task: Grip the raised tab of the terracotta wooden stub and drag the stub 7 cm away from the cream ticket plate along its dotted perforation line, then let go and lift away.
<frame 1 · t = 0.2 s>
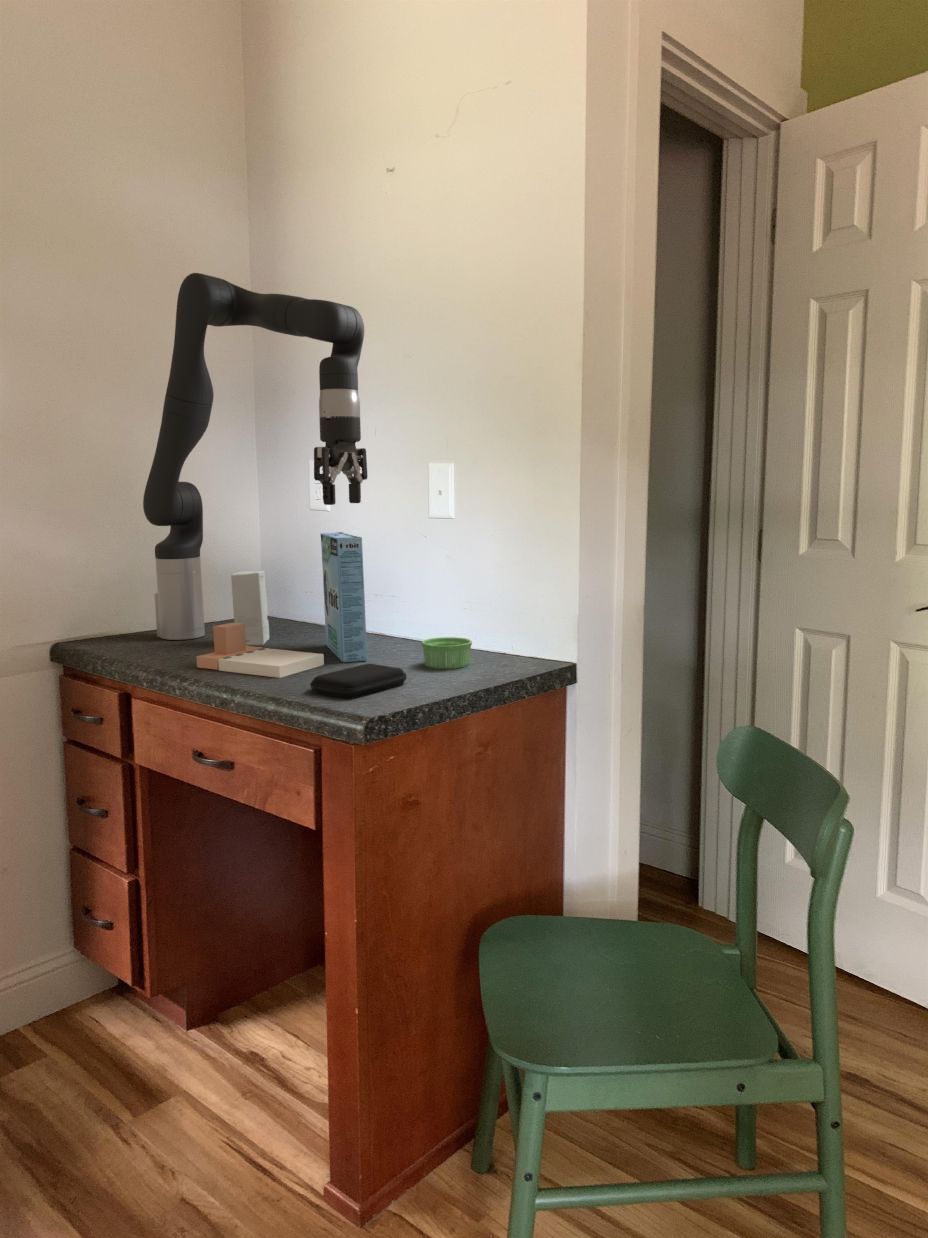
hand: (342, 503, 170), 29 cm above the table, tool pointing down, fingers open, 8 cm apart
ticket plate: (272, 667, 162), on the table
skincare box: (252, 643, 188), on the table
ramekin: (447, 666, 163), on the table
stub: (230, 643, 166), point 4 cm above the table, slide at 0.0 cm
gum box: (345, 654, 175), on the table
carrying case or bag: (357, 690, 146), on the table
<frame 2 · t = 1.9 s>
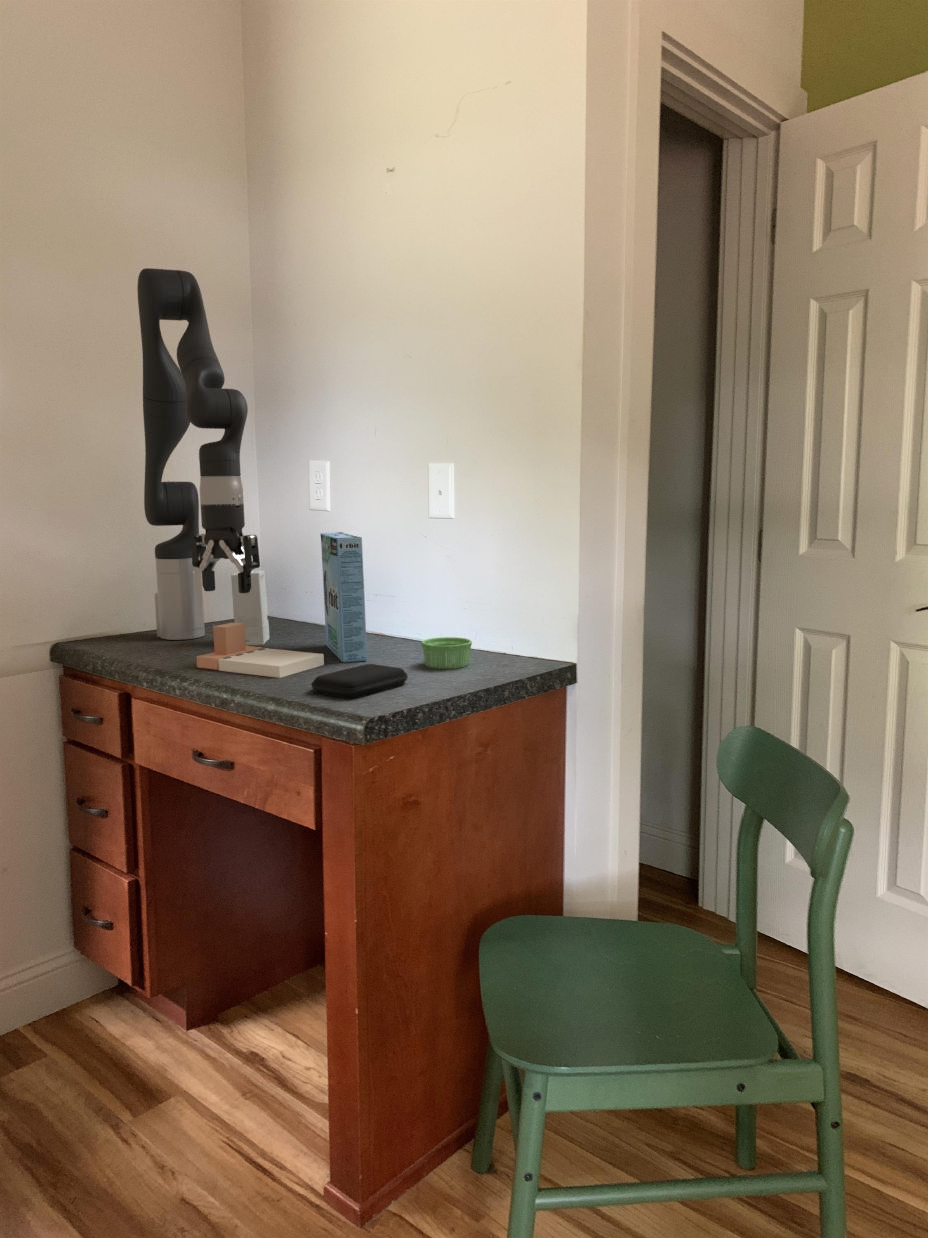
hand: (227, 591, 165), 13 cm above the table, tool pointing down, fingers open, 8 cm apart
nothing on the table moved.
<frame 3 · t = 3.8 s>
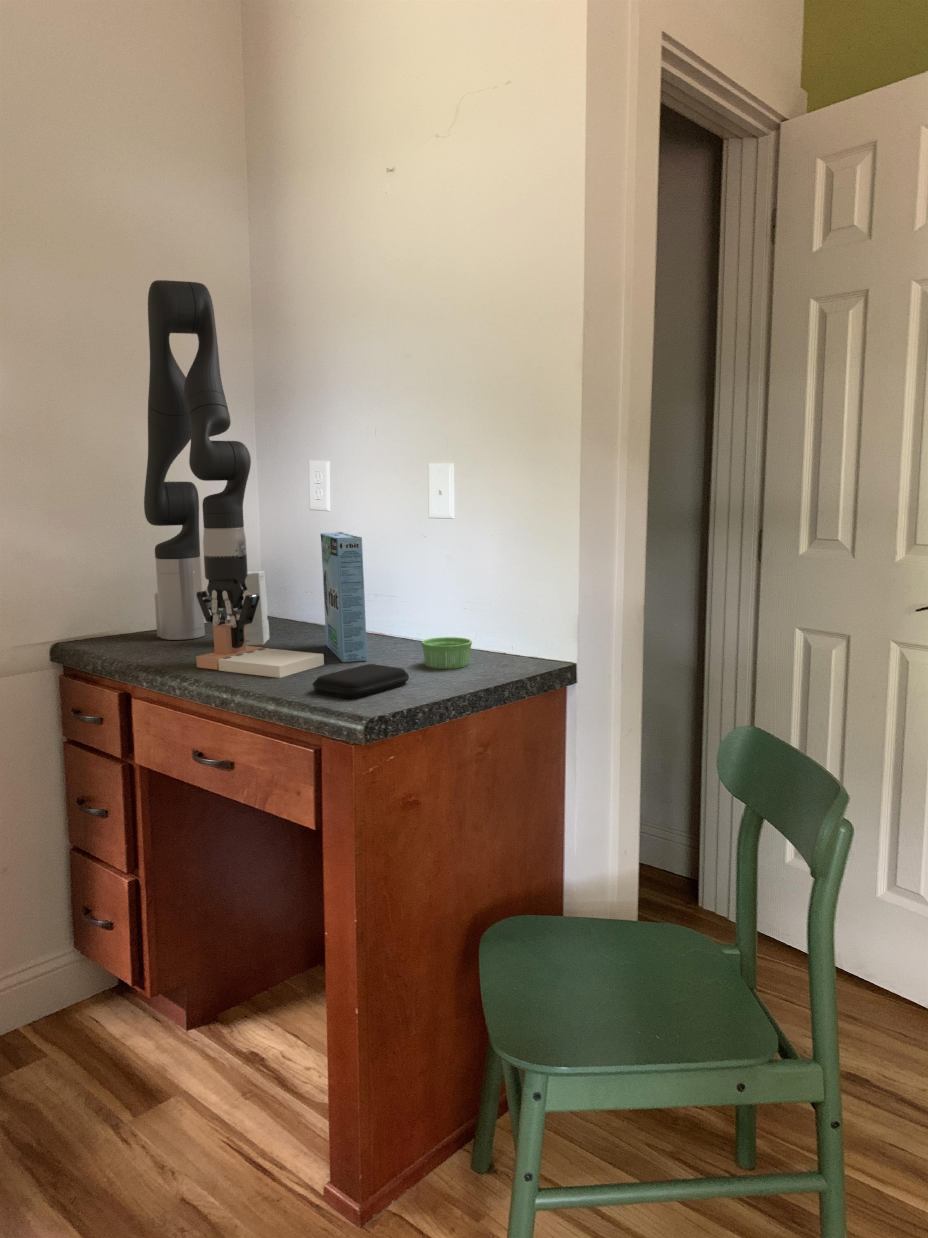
hand: (230, 646, 166), 3 cm above the table, tool pointing down, fingers closed on stub, 3 cm apart
stub: (230, 643, 166), point 4 cm above the table, slide at 0.0 cm, touching gripper
everything else where it was.
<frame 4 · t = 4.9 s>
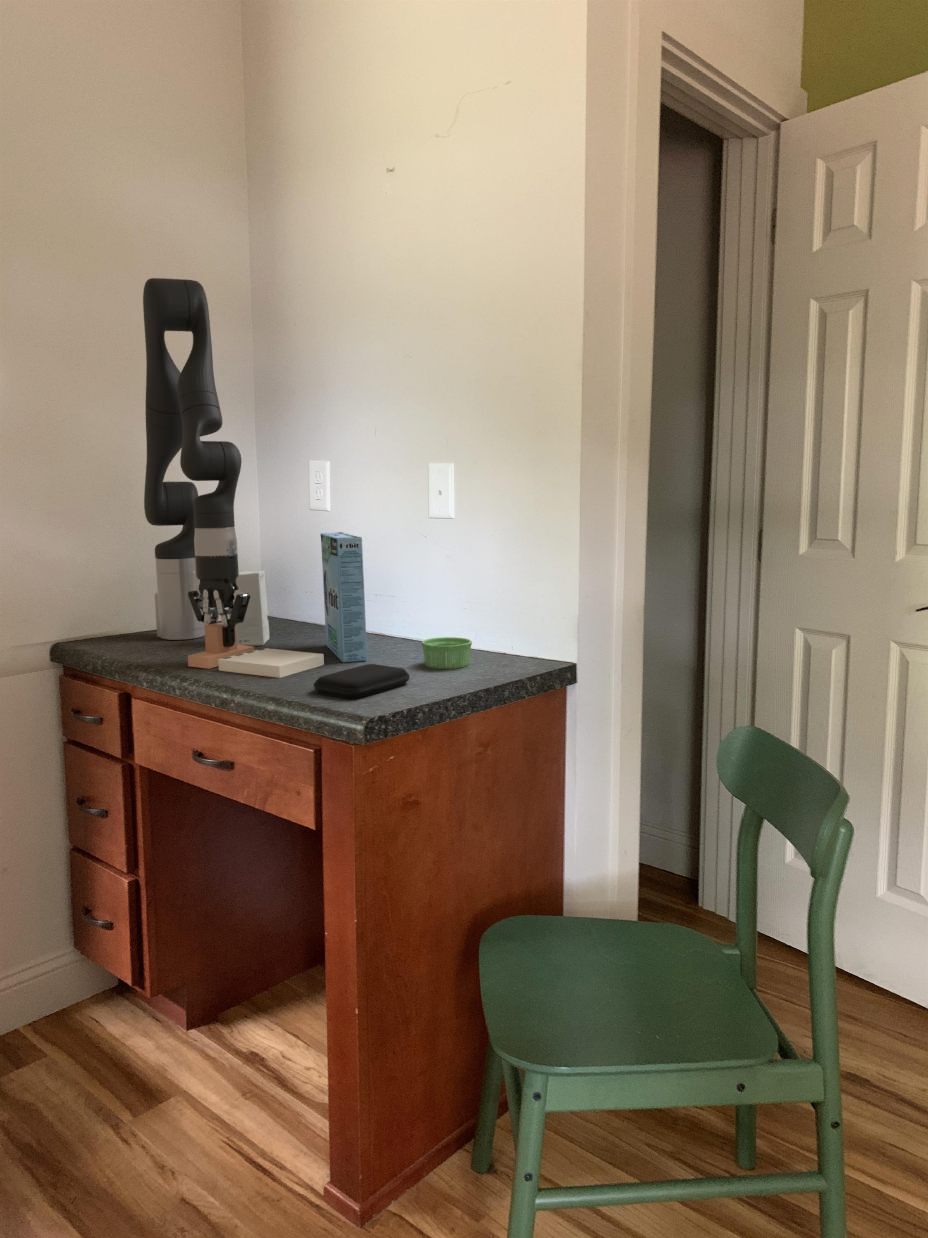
hand: (221, 645, 167), 3 cm above the table, tool pointing down, fingers closed on stub, 3 cm apart
stub: (221, 642, 167), point 4 cm above the table, slide at 2.2 cm, touching gripper
everything else where it was.
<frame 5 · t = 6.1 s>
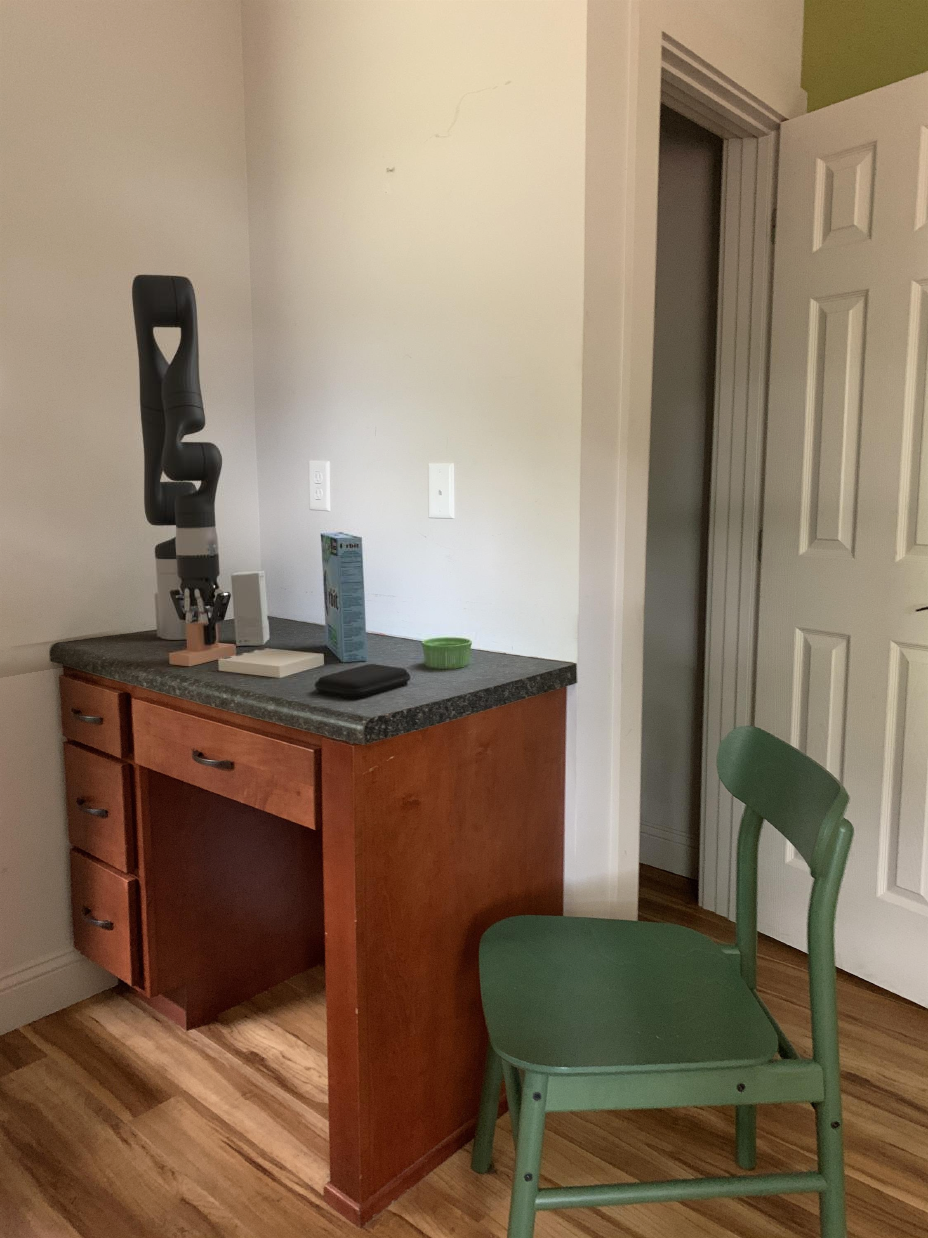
hand: (202, 643, 170), 3 cm above the table, tool pointing down, fingers closed on stub, 3 cm apart
stub: (202, 641, 170), point 4 cm above the table, slide at 6.9 cm, touching gripper
everything else where it was.
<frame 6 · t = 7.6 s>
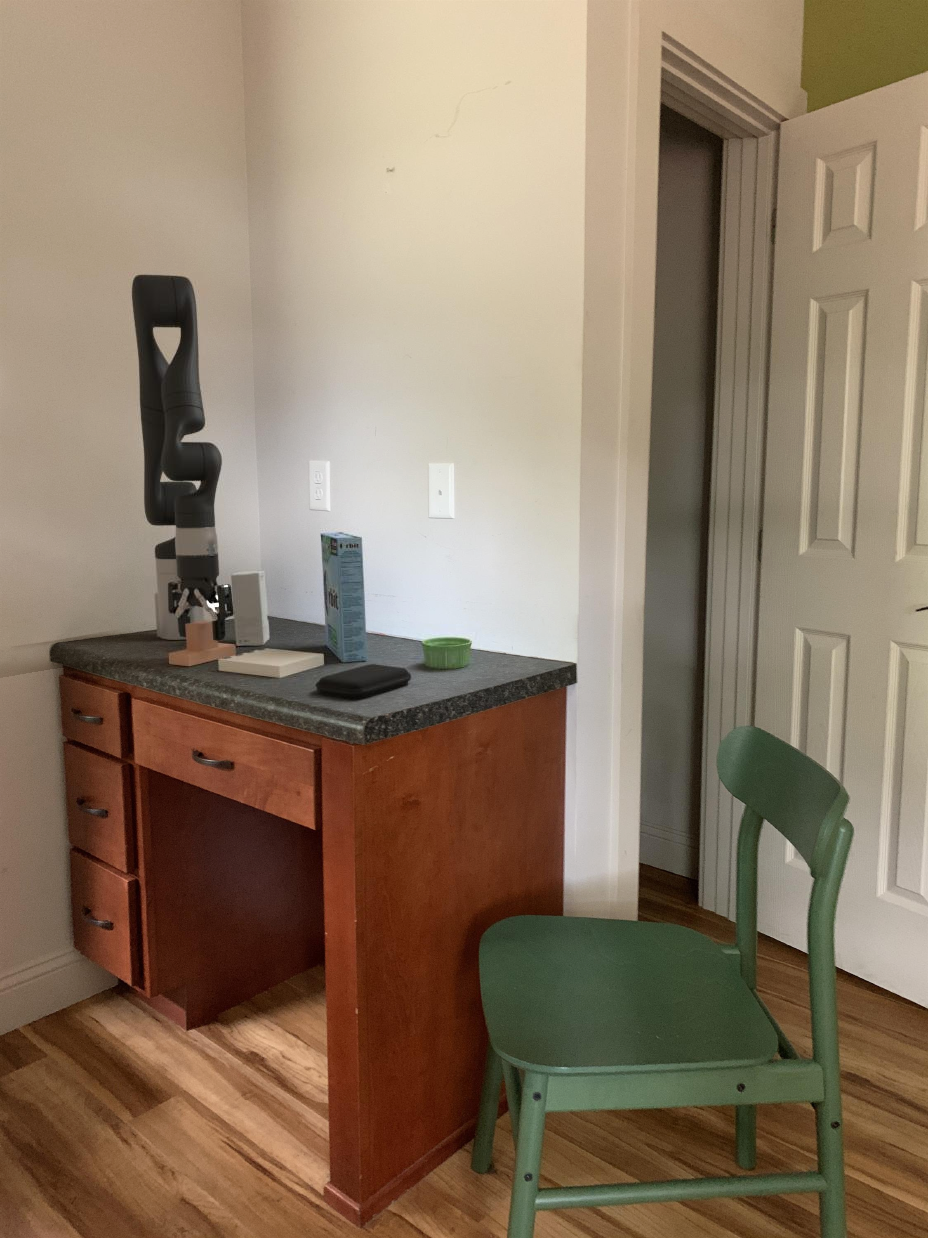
hand: (202, 638, 170), 4 cm above the table, tool pointing down, fingers open, 8 cm apart
stub: (202, 640, 170), point 4 cm above the table, slide at 7.0 cm
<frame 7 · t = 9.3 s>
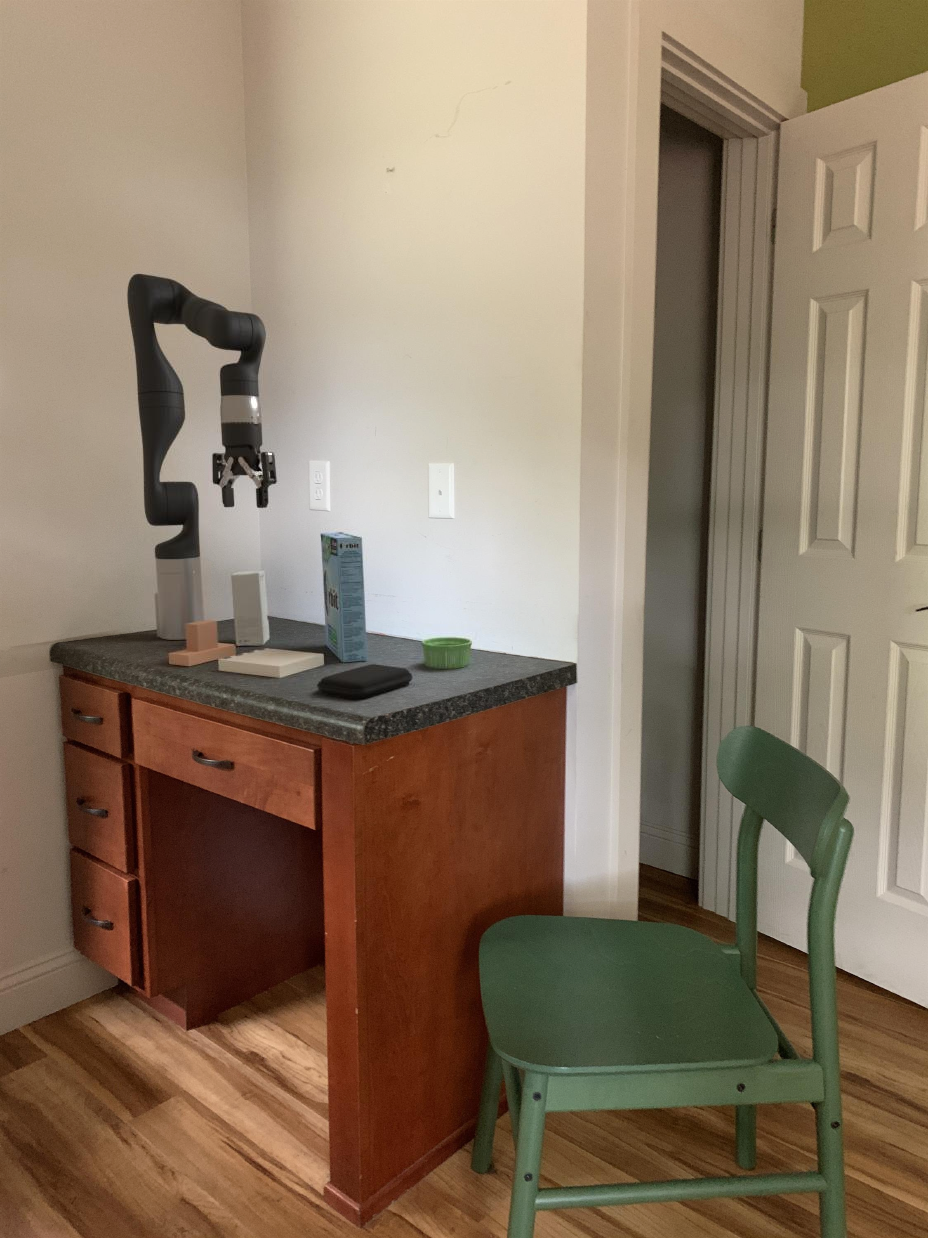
hand: (245, 507, 174), 28 cm above the table, tool pointing down, fingers open, 8 cm apart
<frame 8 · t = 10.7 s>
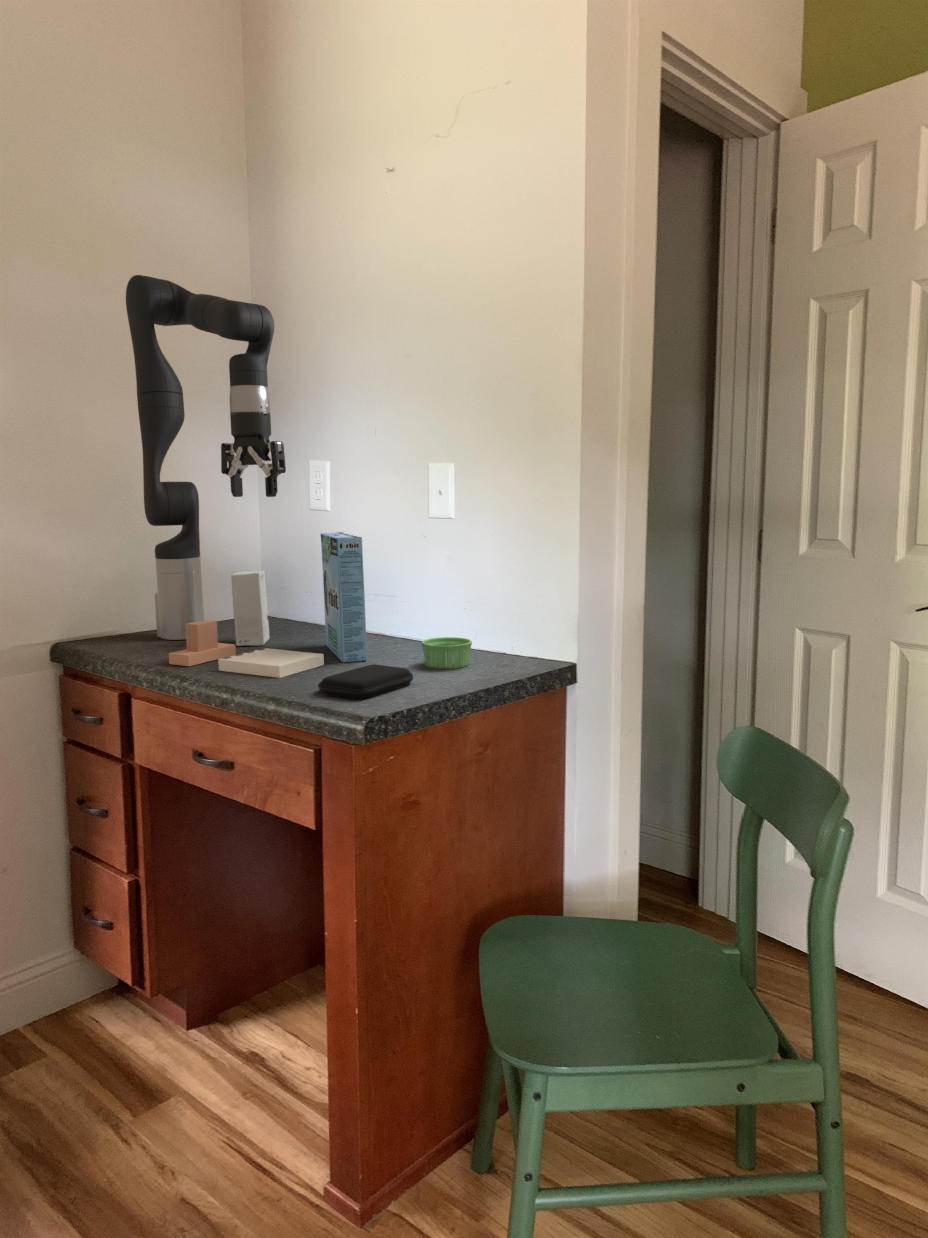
hand: (254, 496, 176), 30 cm above the table, tool pointing down, fingers open, 8 cm apart
at the end: stub slide at 7.0 cm; the gripper is holding nothing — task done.
